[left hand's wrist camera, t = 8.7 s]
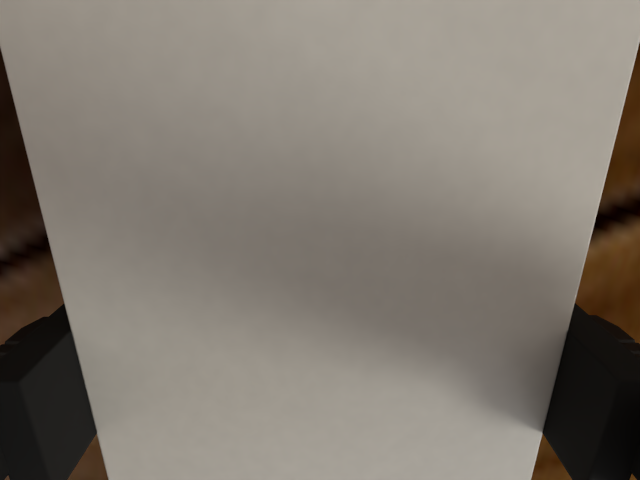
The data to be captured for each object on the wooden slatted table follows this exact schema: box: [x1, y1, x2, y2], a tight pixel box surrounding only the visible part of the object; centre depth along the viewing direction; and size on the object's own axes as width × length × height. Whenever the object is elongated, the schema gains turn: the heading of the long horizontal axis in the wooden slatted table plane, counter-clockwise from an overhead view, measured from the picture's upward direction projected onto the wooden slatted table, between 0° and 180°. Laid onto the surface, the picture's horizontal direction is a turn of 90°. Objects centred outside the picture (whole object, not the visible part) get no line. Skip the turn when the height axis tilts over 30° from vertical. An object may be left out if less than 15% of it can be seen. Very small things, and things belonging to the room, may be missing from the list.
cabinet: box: [0, 0, 640, 480], centre depth 11 cm, size 17×10×9 cm, turn 0°
